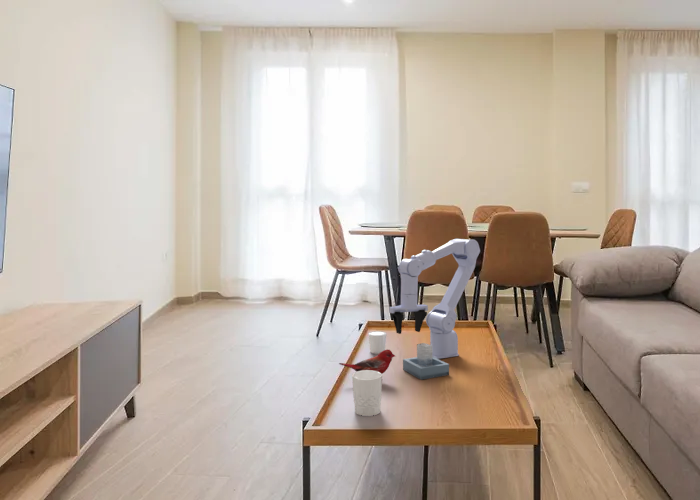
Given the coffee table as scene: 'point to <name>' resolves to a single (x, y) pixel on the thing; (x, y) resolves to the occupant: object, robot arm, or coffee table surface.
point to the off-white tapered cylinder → (377, 341)
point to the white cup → (367, 392)
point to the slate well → (426, 368)
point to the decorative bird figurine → (374, 362)
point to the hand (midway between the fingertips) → (408, 332)
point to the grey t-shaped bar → (424, 355)
